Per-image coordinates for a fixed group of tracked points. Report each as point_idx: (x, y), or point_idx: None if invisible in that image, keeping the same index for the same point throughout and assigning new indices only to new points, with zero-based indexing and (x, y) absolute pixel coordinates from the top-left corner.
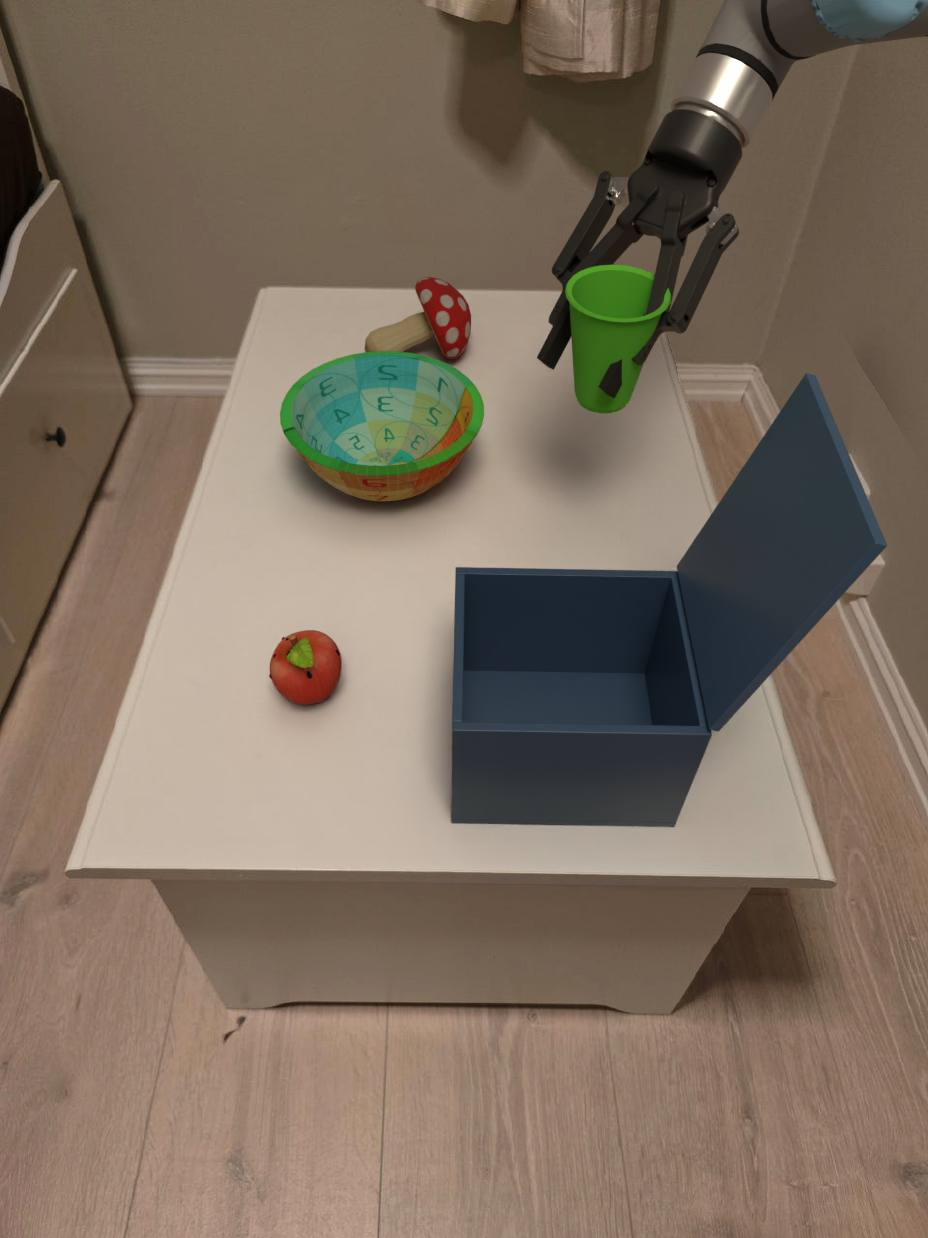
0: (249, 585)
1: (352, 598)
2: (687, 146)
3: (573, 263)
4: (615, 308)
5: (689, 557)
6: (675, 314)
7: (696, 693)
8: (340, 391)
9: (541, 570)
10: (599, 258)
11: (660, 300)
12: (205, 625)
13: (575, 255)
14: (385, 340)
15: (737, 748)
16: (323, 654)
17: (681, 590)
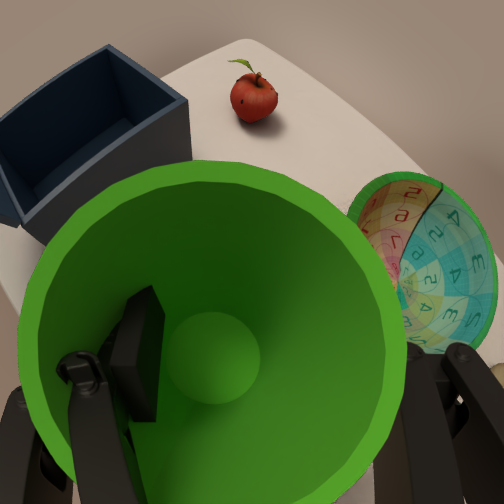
0: (349, 145)
1: (298, 175)
2: None
3: (457, 427)
4: (274, 441)
5: (1, 207)
6: (18, 400)
7: None
8: (472, 277)
9: (123, 140)
10: (408, 448)
11: (77, 432)
12: (335, 114)
13: (469, 412)
14: (501, 375)
15: (16, 260)
16: (242, 88)
17: (10, 200)
